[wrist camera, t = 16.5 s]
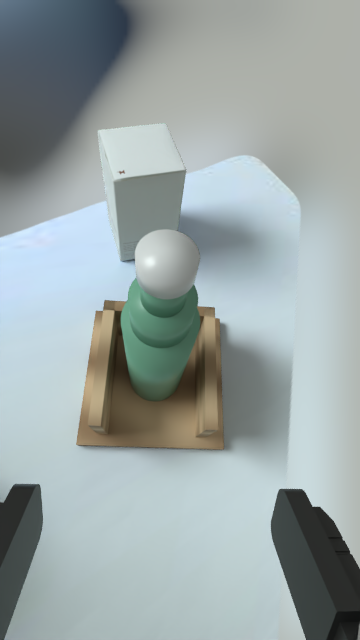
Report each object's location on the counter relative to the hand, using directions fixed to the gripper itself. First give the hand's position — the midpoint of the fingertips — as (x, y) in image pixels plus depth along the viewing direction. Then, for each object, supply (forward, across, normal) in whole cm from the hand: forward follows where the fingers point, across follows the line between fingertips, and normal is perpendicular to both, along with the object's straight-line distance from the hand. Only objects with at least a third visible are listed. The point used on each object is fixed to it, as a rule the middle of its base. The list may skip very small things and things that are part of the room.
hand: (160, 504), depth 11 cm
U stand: (+23, 0, +8) cm, 24 cm away
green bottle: (+22, 0, +7) cm, 23 cm away
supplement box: (+36, +3, -5) cm, 37 cm away
